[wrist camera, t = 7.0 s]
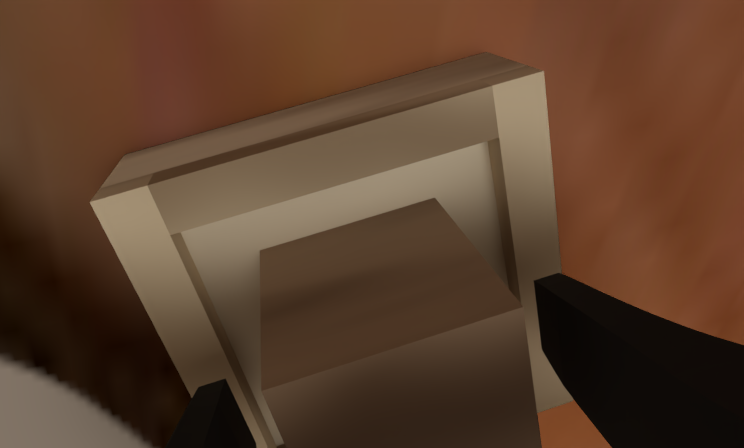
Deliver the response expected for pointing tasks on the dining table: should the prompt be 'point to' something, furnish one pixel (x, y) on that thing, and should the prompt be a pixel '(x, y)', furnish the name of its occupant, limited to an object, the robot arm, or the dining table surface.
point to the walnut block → (393, 339)
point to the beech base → (333, 206)
